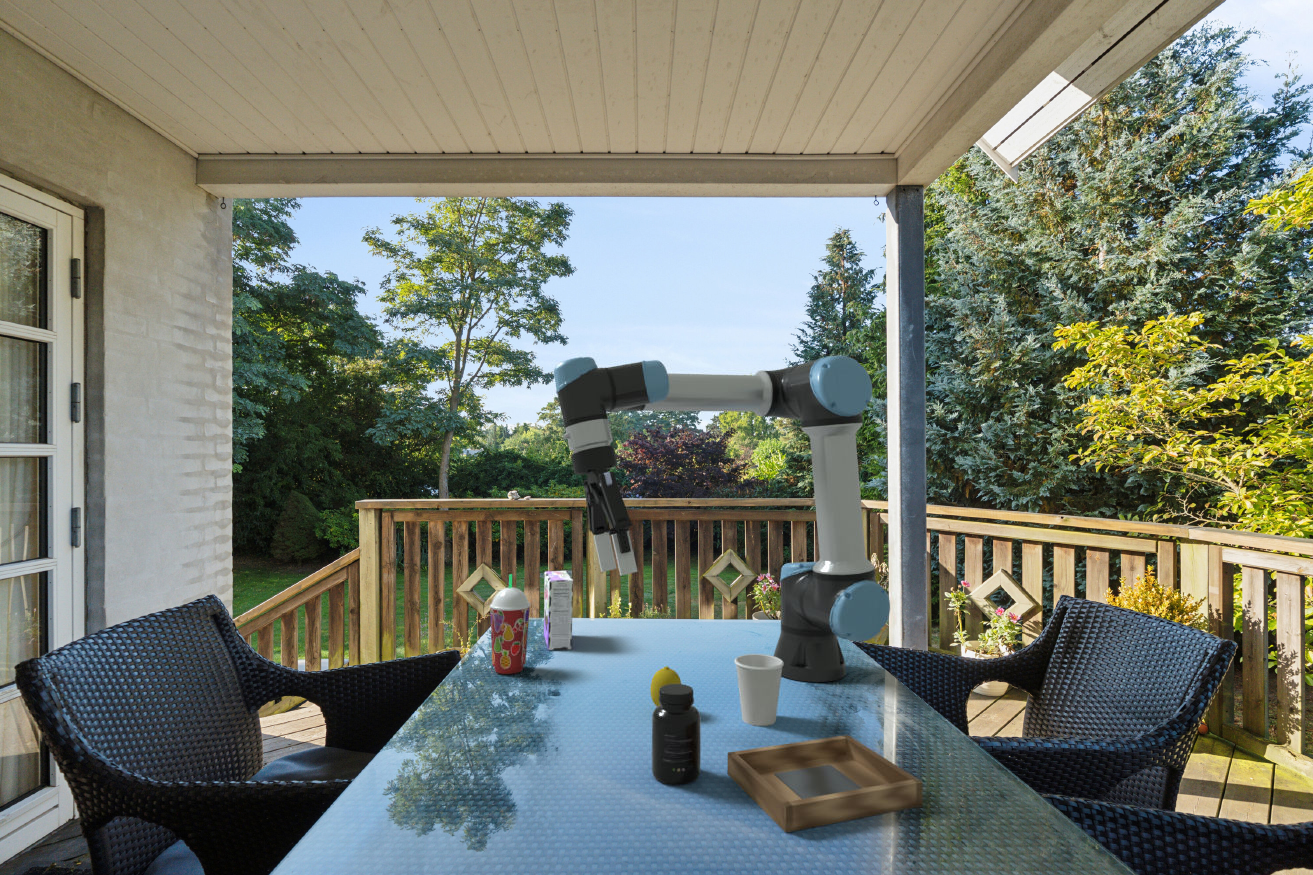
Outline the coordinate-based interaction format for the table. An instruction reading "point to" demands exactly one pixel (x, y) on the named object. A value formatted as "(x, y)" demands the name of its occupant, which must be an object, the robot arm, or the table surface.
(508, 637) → the smoothie
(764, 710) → the dixie cup
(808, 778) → the tray
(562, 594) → the candy box
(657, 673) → the lemon
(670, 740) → the supplement bottle
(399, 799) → the table surface
